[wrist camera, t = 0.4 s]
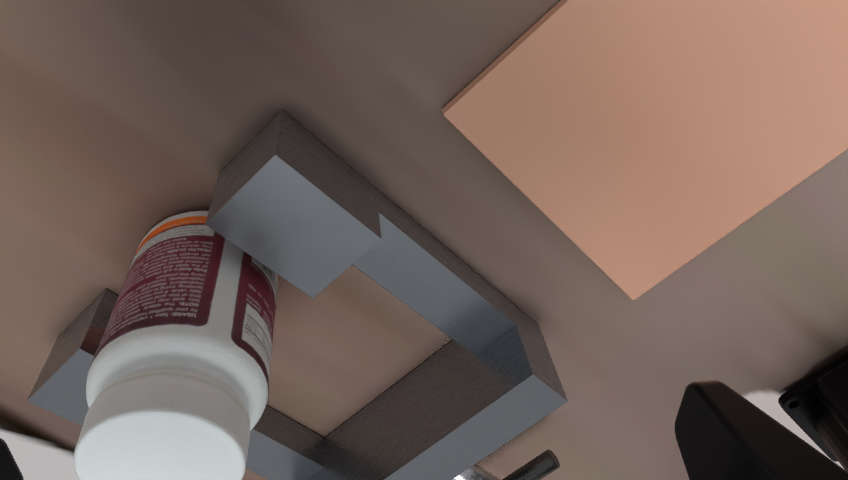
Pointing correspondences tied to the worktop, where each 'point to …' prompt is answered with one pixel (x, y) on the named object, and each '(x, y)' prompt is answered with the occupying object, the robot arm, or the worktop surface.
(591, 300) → the worktop surface
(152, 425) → the pill bottle
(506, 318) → the vise
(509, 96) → the tile
